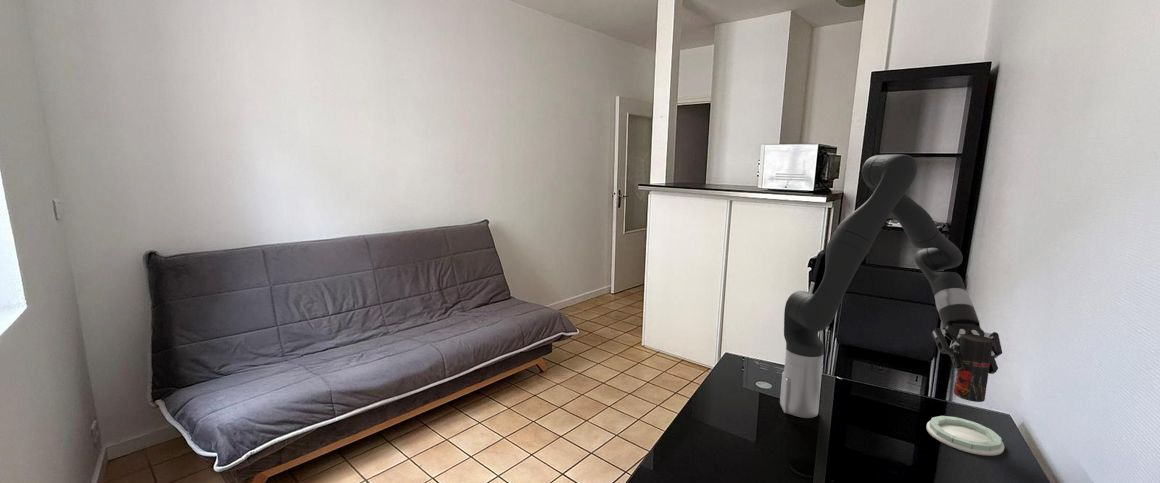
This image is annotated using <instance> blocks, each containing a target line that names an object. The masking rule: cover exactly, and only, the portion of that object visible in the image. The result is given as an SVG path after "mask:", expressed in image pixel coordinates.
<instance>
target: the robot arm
mask: <svg viewBox="0 0 1160 483" xmlns="http://www.w3.org/2000/svg"><path fill="white" fill-rule="evenodd" d="M917 172H918V165H917V161H916V159H915V158H914V157H912V156H911V155H909V154H900V153H899V154H896V153H895V154H879V155H878V154H877V155H873V156H871V157H869V158H868V159H866V160H865V162H864V163H863V165H862V169H861V177H862V180H863V182H864V183H865V184H866V185H867V187H868V188H869V189H870V190H871V192H873V193H872V194H871V196H870V197H869V198H868V199H867V200H866V201H865V202H864V203H863V204H862V205H861V206H859V207H858V208H857V209H856V210H855V209H854V211H853V212H851V213H850V214H849V215H848V216H846V217H844V218H843V220H842V221H841V222H839V224H838V226H836V229H835V230H834V232H833V234H832V235H831V237H830V239H829V240H828V242H827V244H826V245H827V246H826V249H825V254H824V255H825V256H824V257H825V261H824V262H825V263H824V264H825V265H824V266H825V267H824V274H823V276H822V280H821V281H820V283H819V286H818V287H817V289H816V290H815V291H814V293H812V292H809V291H805V290H798V291H794V292H793V293H791V294H790V295H789V297H787V300H786V302H785V306H784V312H783V313H784V316H783V337H784V340H785V357H784V369H783V370H784V371H782V373H781V385H780V397H779V403H780V404H779V405H780V407H781V408H782V412H783V413H784V414H788V415H791V416H795V417H799V418H803V419H812V418H815V417H817V416H818V415H819V410H820V396H821V395H820V394H821V384H822V373H823V363H824V362H823V361H824V351H825V345H824V342H823V341H822V340H821V338H820V337H819V336H818V334H817V333H818V332H821V331H824V330H825V329H827V328H828V327H829V326H830V324H832V322H833V320H834V318H835V316H836V314H837V313H838V310H839V308H840V306H841V302H842V300H843V299H844V297H845V294H846V291H847V289H848V287H849V285H850V284H851V282H852V280H853V278H854V277H855V274H856V273H857V271H858V269H859V267H860V265H861V264H862V262H863V261H864V259H865V258H866V256H867V254H868V253H869V251H870V249H871V247H872V245H873V244H874V242H875V240H876V238H877V236H878V234H879V232H880V231H881V230H882V228H883V226H884V224H885V223H886V222H887V220H888V219H889V217H890V215H891V213H892V215H893V216H894V217H895V219H896V220H897V222H898V223H899V225H900V226H901V228H902V229H903V231H904V233H905V234H906V236H907V238H908V239H909V241H910V242H911V244H912V245H913V246H914V248H917V249H919V250H918V251H917V252H915V255H914V263H915V264H916V266H917V267H918V269H920V271H921V273H922V274H923V275H924V276H925V278H926V280H928V283H929V284H930V287H931V290H932V293H933V297H934V300H935V306H936V310H937V312H938V316H939V319H940V321H941V324H942V327H943V329H941V328H939V327H937V328H935V329H934V330H933V331H932V332H931V336H932V339H933V341H934V342H935V345H936V346H937V349H938V351H939V352H940V353H941V354H943V355H944V354H946V355H948V356H949V357H950V359H951V363H952V365H953V366H952V367H953V368H954V369H956V370H957V371H962V370H964V369H965V366H964V363H963V360H962V357H961V355H960V354H959V350H960V339H961V335H962V334H974V335H980V336H984V337H987V338H990V339H992V340H993V345H992V352H991V359H990V366H989V373H988V375H989V374H991V375H993V374H995V373H996V372H997V371H998V370H999V367H998V364H997V361H996V359H997V358H998V357H999V356H1001V355H1002V354H1003V349H1002V345H1001V341H1000V336H999V333H998V332H995V331H993V332H992V333H990V332H985V331H984V329H982V328H981V325H980V321H979V317H978V315H977V312H976V310H975V307H974V304H973V301H972V299H971V296H970V295H969V293H968V292H967V289H966V286H965V284H964V280H963V278H962V277H961V275H960V274H959V273H958V272H955V271H945V270H949V269H954V268H956V267H959V266H960V265H961V264H962V263H963V254H962V253H963V252H962V251H961V250H960V249H959V247H958V246H957V245H956V244H955V243H953V242H952V241H950V240H949V239H948V238H947V237H946V236H944V235H943V233H942V232H941V231H940V230H939V227H938V225H936V222H935V221H934V219H933V217H932V216H931V215H930V213H929V212H928V211H927V210H926V209H924V208H923V207H922V206H921V205H920V204H919V203H917V202H916V201H915V200H914V199H912V198H911V197H910V196H909V195H908V194H907V191H908V190H909V189H910V187H911V186H912V184H913V182H914V180H915V178H916V176H917ZM946 337H947V338H948V339H949V340H950V341H951V342H950V345H949V344H948V341H947V339H946Z"/></svg>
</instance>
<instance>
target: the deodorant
mask: <svg viewBox="0 0 1160 483" xmlns="http://www.w3.org/2000/svg"><path fill="white" fill-rule="evenodd" d="M992 345H993V340H992V339H990V338H987V337H984V336H980V335H974V334H962V335H961V339H960V350H959V353H958V354H960V355H961V357H962V360H963V363H964V366H965V369H964V370H962V371H957V369H956V372H955V376H954V377H955V378H954V385H953V387H954V388H953V394H954V396H956V397H957V398H960V399H962V400H965V401H969V402H975V403H983V402H985V400H986V393H987V388H988V387H987V385H988V380H989V366H990V359H991V352H992Z"/></svg>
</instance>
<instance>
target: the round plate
mask: <svg viewBox="0 0 1160 483" xmlns="http://www.w3.org/2000/svg"><path fill="white" fill-rule="evenodd" d="M926 431H927V433H928V434H929V435H930V436H932V438H934V439H935V440H937V441H939V442H940V443H943V444H944V445H946V446H949V447H950V448H954V449H956V450H959V451H962V452H966V453H969V454H974V455H978V456H988V457H989V456H991V457H992V456H993V457H994V456H998V455H1002V454H1003V453H1004V451H1005V444H1004V442H1003V441H1002V437H1001V436H999V434H998V433H996V432H995V431H994V430H992V429H991V428H988V427H987V426H984V425H983V424H980V423H977V422H975V421H972V420H969V419H964V418H961V417H957V416H948V415H947V416H946V415H939V416H934V417H931V419H930V420H929V421H928V422H927V423H926Z"/></svg>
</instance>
